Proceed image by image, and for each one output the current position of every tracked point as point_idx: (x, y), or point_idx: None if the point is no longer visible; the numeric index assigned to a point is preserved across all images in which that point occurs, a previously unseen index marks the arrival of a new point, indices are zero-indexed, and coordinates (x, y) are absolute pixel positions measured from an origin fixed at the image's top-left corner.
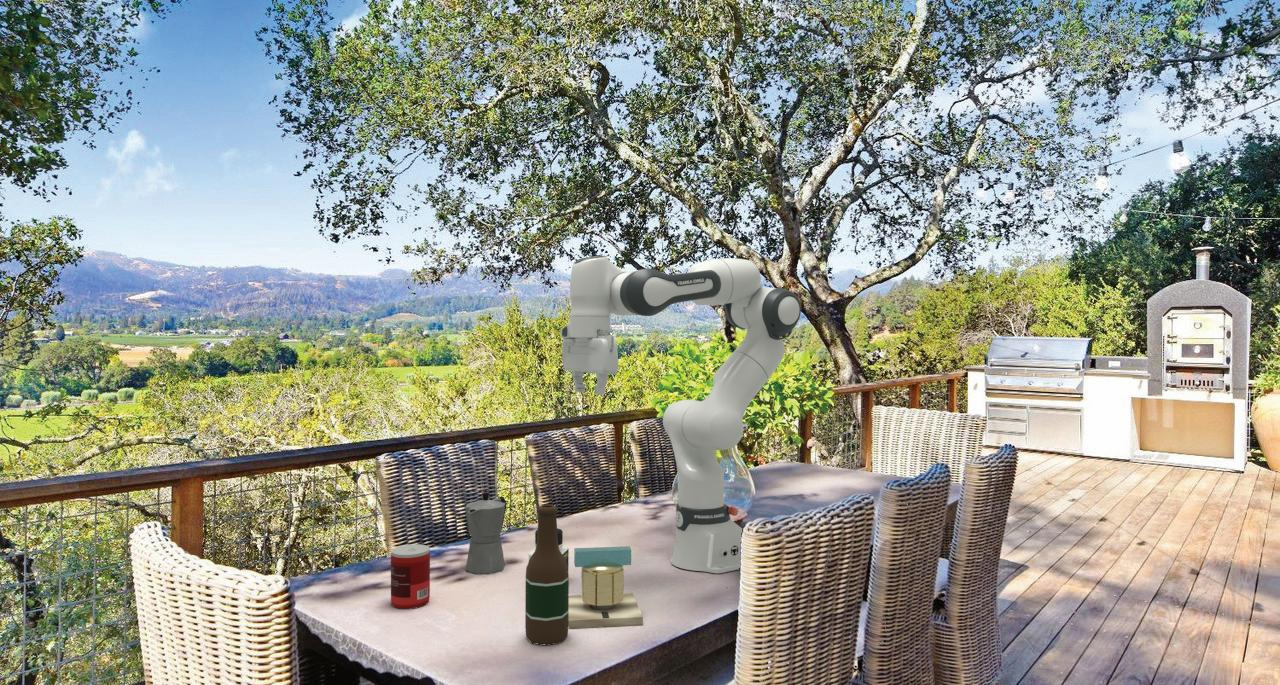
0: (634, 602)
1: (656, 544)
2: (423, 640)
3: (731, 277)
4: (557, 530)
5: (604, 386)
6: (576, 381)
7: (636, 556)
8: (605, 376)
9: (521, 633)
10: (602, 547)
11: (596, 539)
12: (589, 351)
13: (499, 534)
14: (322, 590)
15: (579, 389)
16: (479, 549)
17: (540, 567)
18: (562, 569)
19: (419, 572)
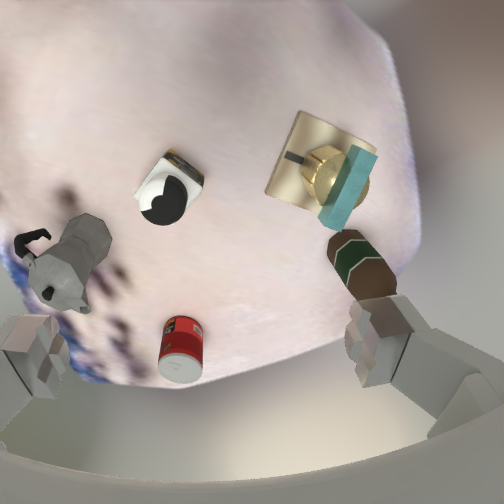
0: (333, 129)
1: None
2: (287, 334)
3: None
4: (175, 193)
5: (435, 334)
6: (16, 405)
7: (116, 19)
8: (499, 394)
9: (321, 263)
10: (344, 187)
11: (16, 55)
12: None
13: (77, 243)
14: (122, 375)
15: (61, 359)
16: (95, 264)
17: None
18: (394, 275)
19: (201, 351)
